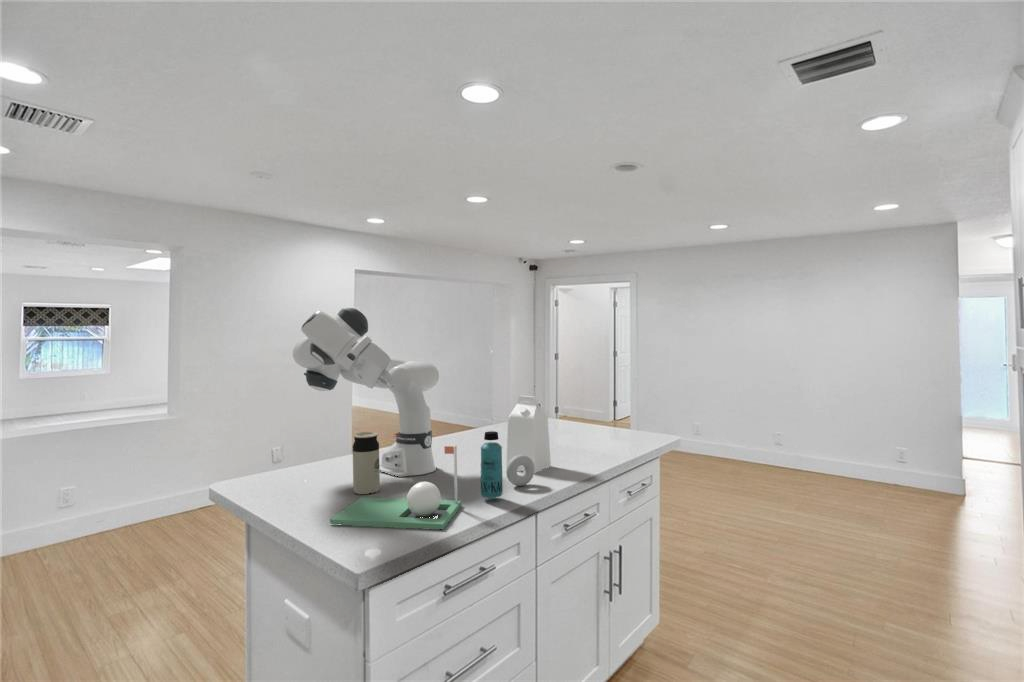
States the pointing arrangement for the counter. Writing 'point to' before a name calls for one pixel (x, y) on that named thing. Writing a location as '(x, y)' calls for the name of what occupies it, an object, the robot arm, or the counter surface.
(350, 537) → the counter surface
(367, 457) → the travel mug
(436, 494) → the ball
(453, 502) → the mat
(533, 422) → the milk
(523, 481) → the donut
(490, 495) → the beverage bottle
